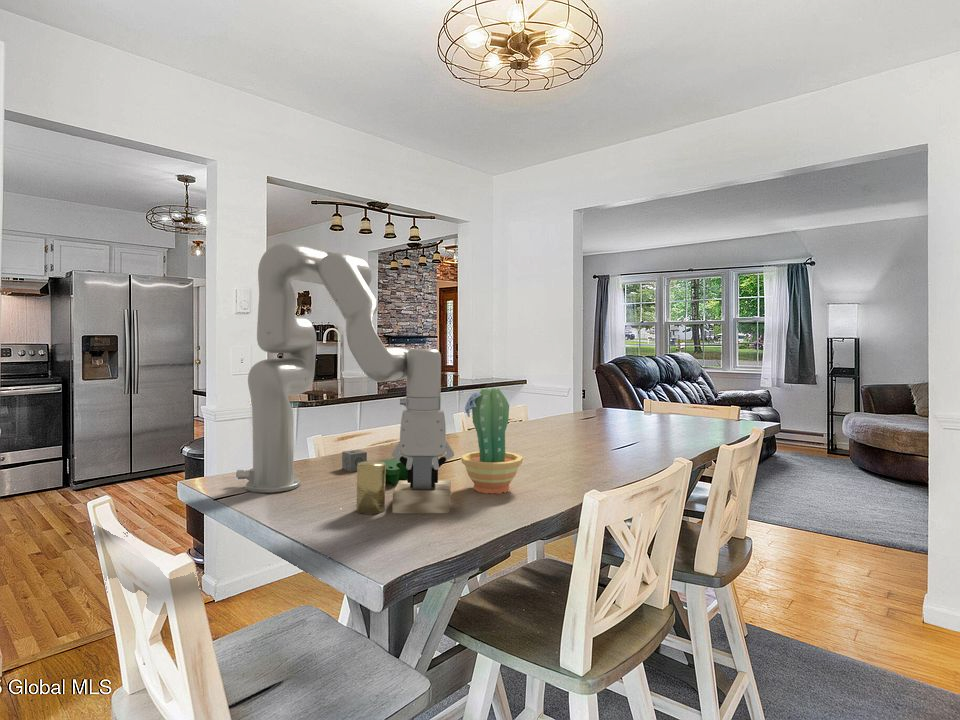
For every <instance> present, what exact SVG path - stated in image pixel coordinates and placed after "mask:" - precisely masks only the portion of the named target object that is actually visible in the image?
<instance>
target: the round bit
mask: <svg viewBox="0 0 960 720" xmlns="http://www.w3.org/2000/svg"><path fill="white" fill-rule="evenodd" d="M385 473H386V463H384V462H379V460H367V461H365V462H360V463H358V464H357V471H356V504H355V505H356V509H355V510H356V513H359V514H363V515H376V514H380V513H383V512H384V511H386V510H385V509H386V507H385V506H386V505H385V504H386V483H385Z"/></svg>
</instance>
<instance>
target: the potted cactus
mask: <svg viewBox="0 0 960 720" xmlns="http://www.w3.org/2000/svg"><path fill="white" fill-rule="evenodd" d="M470 410H471V412H472V413H471V415H470ZM464 411H465V413H466V415H467V417H468V418H470V417H471V416H472V417H471V418H472V423H473V427H474V428H475V432H476V436H477V443H478V450H479V451H472V452H469V453H467V452H466V453H464V454H463V455H461V456H460V460H461V463H462V464H463V465H464V466H465V469H466V472H467V475H468V477H469V478H470V480H471V482H473V483H472V484H473V488H474V489H475V490H476V491H475V490H474V489H473V490H474V491H475V492H477V491H478V493H481V492H482V493H481V494H488V493H492V494H491V495H493V493H497V494H503V493H502V492H504V493H506V492H505V491H508V490H509V491H510V489H511V488H510V484H511V482H512V481H513V480H514V478H515V477H516V475H517V473H518V469H519V467H520V466H521V465H522V464H523V459H524V457H523V456H522V455H521V454H518V453H514V452H509V451H506V430H507V426H508V423H509V415H510V404H509V402H508V400H507V398H506V397H505V395H504V394H503V392H502V391H501V389H500V388H495V387H493V388H487V387H485V388H482V389H481V390H480V391H479V392H475V393H473V394H471V395H470V397H469V398H468V400H467V402H466V404H465V407H464ZM509 488H510V489H509ZM509 491H508V492H509Z"/></svg>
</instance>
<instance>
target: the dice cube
mask: <svg viewBox="0 0 960 720" xmlns="http://www.w3.org/2000/svg"><path fill="white" fill-rule="evenodd" d="M367 456H368V452H367V451H364V450H361V449H353V450H352V449H351V450H346V451H345V450H343V451H342V452H341V458H342V460H341V470H344V469H345V470H344V471H346V470H348V471H347V472H349V471H350V473H353V472H352V471H355V472H357V464H358V463H360V462H365V461H368V457H367Z"/></svg>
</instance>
